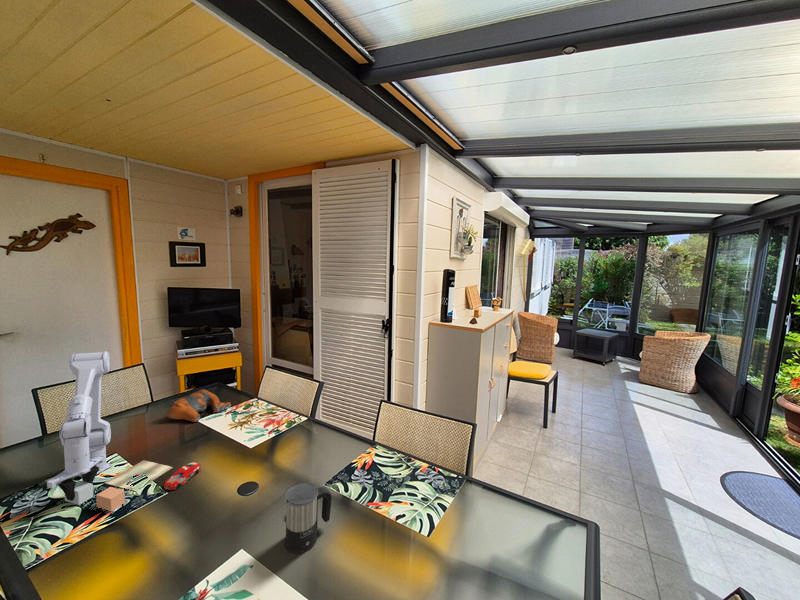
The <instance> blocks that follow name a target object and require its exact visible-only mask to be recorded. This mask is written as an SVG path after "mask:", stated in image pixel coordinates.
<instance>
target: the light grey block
mask: <svg viewBox="0 0 800 600" xmlns="http://www.w3.org/2000/svg"><path fill="white" fill-rule="evenodd" d="M93 484H94V483H92V484H91V483H88V482H84V481H83V480H80V479H79V480H77V481H76V485H75V490H74V492H75V497H74V500H72V501H70V500H67V498H66V495H65V494H64V502H67V503H71V504H74V505H78V506H79V505H81V504H83V503H85V502H86V501H88V500H90V499H92V498H93V497H94V485H93Z"/></svg>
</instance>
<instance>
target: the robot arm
mask: <svg viewBox="0 0 800 600" xmlns="http://www.w3.org/2000/svg"><path fill="white" fill-rule="evenodd" d="M68 362H69V363H68V365H69V366H68V367H69V369H70V371H71V372H72V374H73V375H74V376H75V388H74V389H75V390H74V396H73V397H72V398H70V399H69V401H68V403H67V404H68V405H67V409H66V414H65V419H64V422H62V423H61V425H60V426H59V427H60V428H59V439H60V441H61V446H63V453H64V454H63V455H64V458H63V459H64V470H63V471H62V472H60V473H58V474H57V475H56V476H54V477H53V478H51V479H49V480H48V481H46V485H47V486H46V487H47V488H49V489H54V488H56V487H57V486H58V487H59V488H60V489H61V490H62V492H63V493H64V496H65V495H66V498H67V500H70V501H72V500H74V497H75V492H74V490H75V485H76V482H77V481H75V480H74V479H73V477H76V476H79V477H81V478H82V481H84V482H88V483H91V484H94V480H95V478H96V476H97V475H99V474H100V473H102V472H105V471H106V470H108V469H110V468H111V467H113V465H114V464H112V463H108V462H107V452H106V451H107V447H106V445H109V443H110V442H111V438H112V437H111V435H112V430H111V424H110V422H109V421H106V420H104V419H102V418H101V412H102V410H101V409H102V405H101V404H102V379H103V375H105V374H108V373H109V372H110V352H108V351H107V350H105V351H97V352H82V353H75V352H74V353H73V354H71V356H70V358H69V361H68Z"/></svg>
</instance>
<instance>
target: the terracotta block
mask: <svg viewBox="0 0 800 600" xmlns="http://www.w3.org/2000/svg"><path fill="white" fill-rule="evenodd" d="M125 497H126V496H125V489H124V490H123V489H120V488H118V487H117V488H116V487H113V486H109V487H108V488H106V489H104V490H102V491H101V492H99V493H97V494H96V508H97V507H98V508H97V509H99V508H102V509H101V510H103V509H106V510H109V511H112V512H114V511H115V510H117V509H118V508H120V507H122V506H123V505H124V503H126V498H125ZM122 504H123V505H122ZM121 505H122V506H121ZM119 506H120V507H119ZM117 507H118V508H117ZM116 508H117V509H116ZM106 510H105V511H106ZM113 510H114V511H113ZM109 511H108V512H109Z"/></svg>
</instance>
